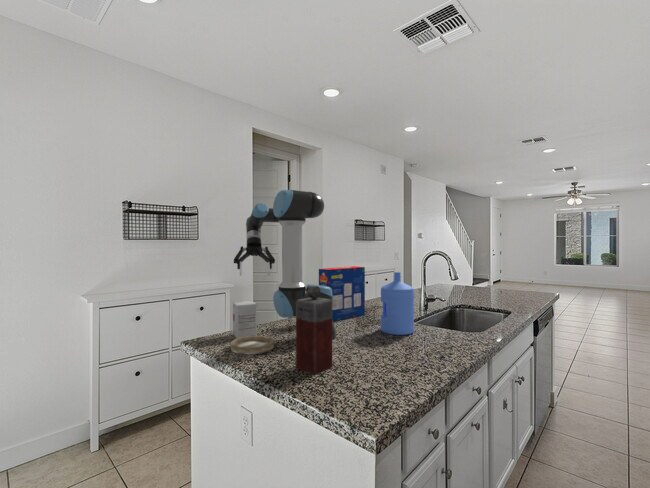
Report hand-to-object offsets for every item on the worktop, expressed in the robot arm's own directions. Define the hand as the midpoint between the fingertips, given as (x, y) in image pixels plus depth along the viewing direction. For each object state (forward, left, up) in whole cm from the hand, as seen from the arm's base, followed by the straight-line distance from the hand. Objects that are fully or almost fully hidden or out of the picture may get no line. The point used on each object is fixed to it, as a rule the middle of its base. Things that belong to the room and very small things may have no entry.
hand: (255, 274), depth 169 cm
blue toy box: (-39, -32, -27) cm, 57 cm away
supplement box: (+1, +11, -27) cm, 29 cm away
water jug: (-68, -8, -27) cm, 74 cm away
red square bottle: (-37, +44, -27) cm, 64 cm away
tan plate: (-9, +27, -27) cm, 40 cm away
